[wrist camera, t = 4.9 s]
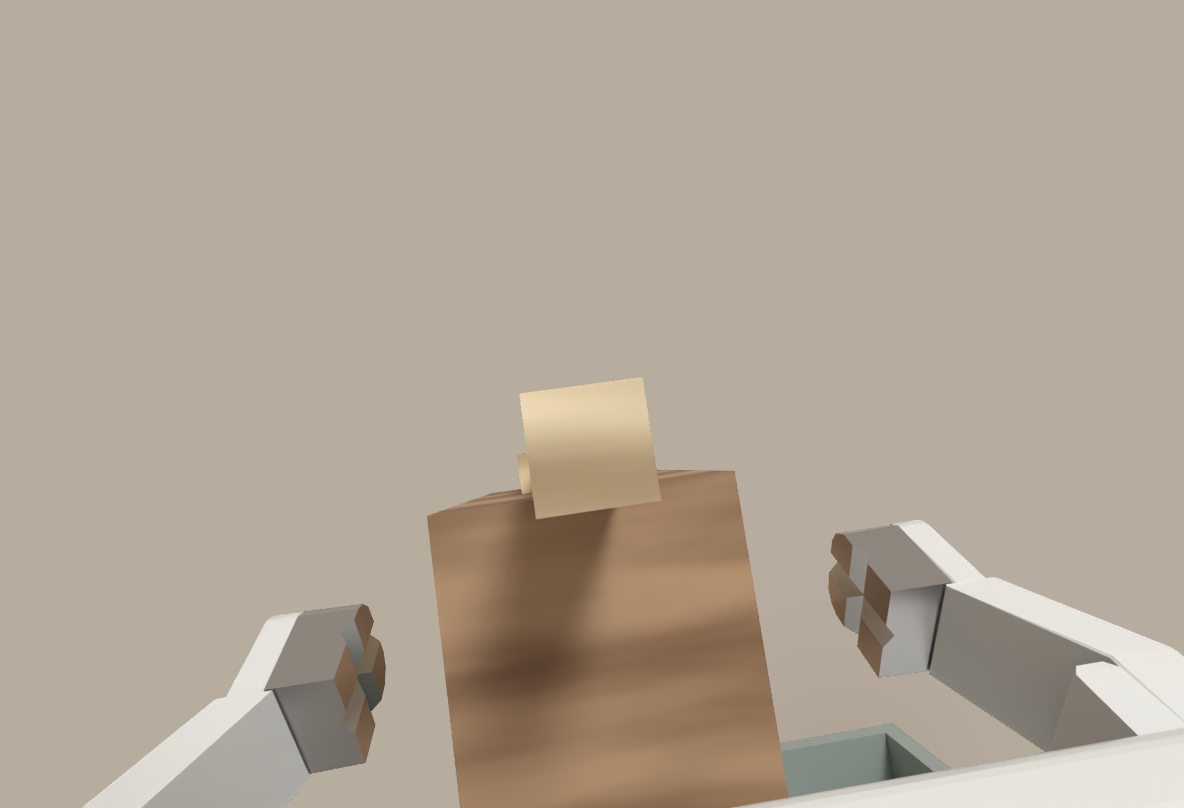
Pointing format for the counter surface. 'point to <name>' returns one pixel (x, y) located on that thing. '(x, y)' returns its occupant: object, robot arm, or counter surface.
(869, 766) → the bin
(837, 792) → the robot arm
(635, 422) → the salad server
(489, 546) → the stand
